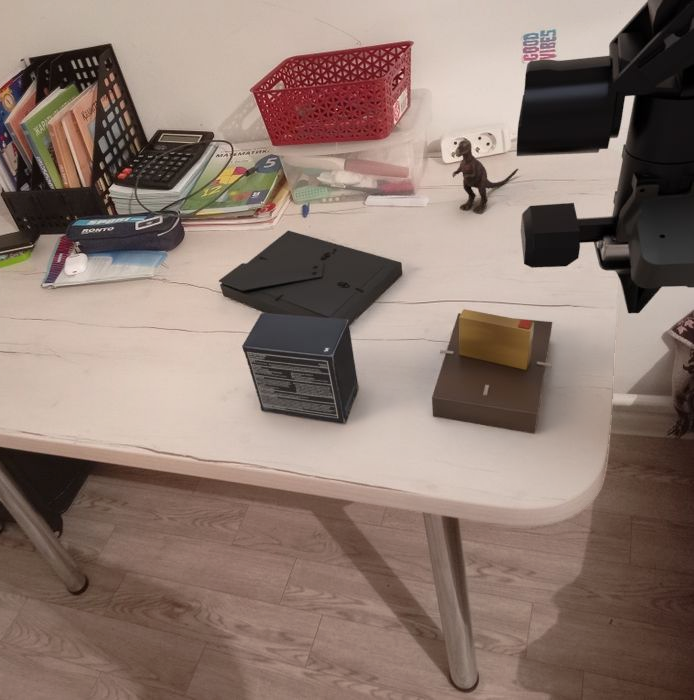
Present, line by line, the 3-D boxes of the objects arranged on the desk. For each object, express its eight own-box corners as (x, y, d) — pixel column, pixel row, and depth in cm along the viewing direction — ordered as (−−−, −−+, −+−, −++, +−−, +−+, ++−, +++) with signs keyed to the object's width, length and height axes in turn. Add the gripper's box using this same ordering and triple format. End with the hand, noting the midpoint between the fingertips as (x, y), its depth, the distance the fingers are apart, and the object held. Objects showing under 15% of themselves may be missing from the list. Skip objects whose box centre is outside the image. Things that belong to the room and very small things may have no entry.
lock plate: (453, 331, 76) (452, 311, 74) (555, 342, 70) (558, 321, 68) (426, 415, 67) (425, 395, 65) (541, 435, 62) (544, 414, 60)
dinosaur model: (449, 143, 86) (508, 104, 92) (443, 217, 94) (498, 177, 100) (475, 149, 83) (534, 108, 90) (467, 225, 91) (522, 183, 97)
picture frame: (223, 295, 93) (333, 340, 80) (218, 280, 91) (330, 324, 78) (290, 241, 100) (402, 274, 86) (287, 226, 98) (401, 257, 84)
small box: (361, 384, 73) (351, 316, 66) (346, 425, 69) (333, 357, 62) (278, 373, 78) (261, 309, 71) (259, 411, 74) (239, 347, 67)
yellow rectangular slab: (459, 354, 68) (458, 315, 65) (463, 346, 69) (463, 306, 65) (526, 370, 64) (530, 329, 61) (530, 361, 65) (534, 320, 62)
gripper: (536, 213, 43) (522, 372, 53) (890, 190, 36) (797, 377, 46) (526, 141, 51) (515, 291, 61) (817, 111, 44) (751, 286, 54)
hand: (632, 310), depth 55 cm, fingers closed
